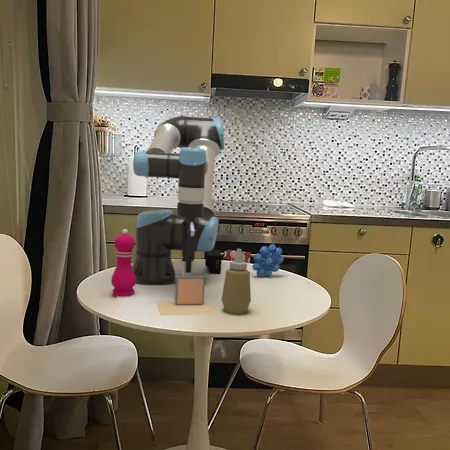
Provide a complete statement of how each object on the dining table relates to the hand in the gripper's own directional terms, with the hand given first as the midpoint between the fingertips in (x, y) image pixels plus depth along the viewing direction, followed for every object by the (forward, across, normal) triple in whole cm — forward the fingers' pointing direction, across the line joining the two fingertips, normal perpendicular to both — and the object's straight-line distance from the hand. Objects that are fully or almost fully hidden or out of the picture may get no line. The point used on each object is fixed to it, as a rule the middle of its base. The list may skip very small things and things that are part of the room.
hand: (186, 282), depth 150 cm
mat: (+6, +8, -1) cm, 10 cm away
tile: (+5, +5, 0) cm, 7 cm away
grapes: (+6, -28, +33) cm, 44 cm away
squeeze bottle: (+6, +12, +12) cm, 18 cm away
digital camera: (+6, -36, +15) cm, 39 cm away
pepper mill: (+6, -6, -18) cm, 20 cm away
